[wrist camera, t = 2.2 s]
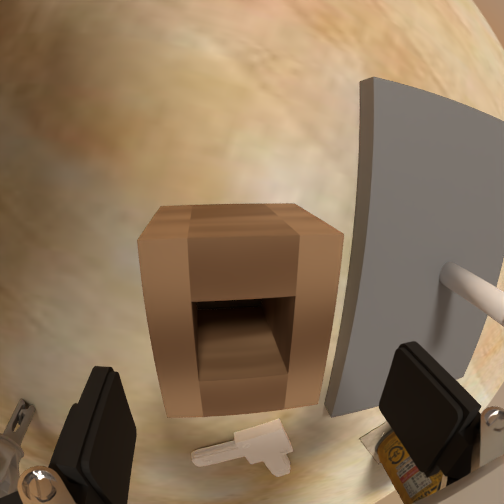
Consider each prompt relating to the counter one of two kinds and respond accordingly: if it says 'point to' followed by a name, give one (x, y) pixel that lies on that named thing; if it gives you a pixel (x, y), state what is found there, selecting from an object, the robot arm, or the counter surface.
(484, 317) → the pin board
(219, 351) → the hollow block
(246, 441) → the corner connector
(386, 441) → the condiment
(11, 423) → the mechanical component
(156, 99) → the counter surface
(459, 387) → the robot arm
